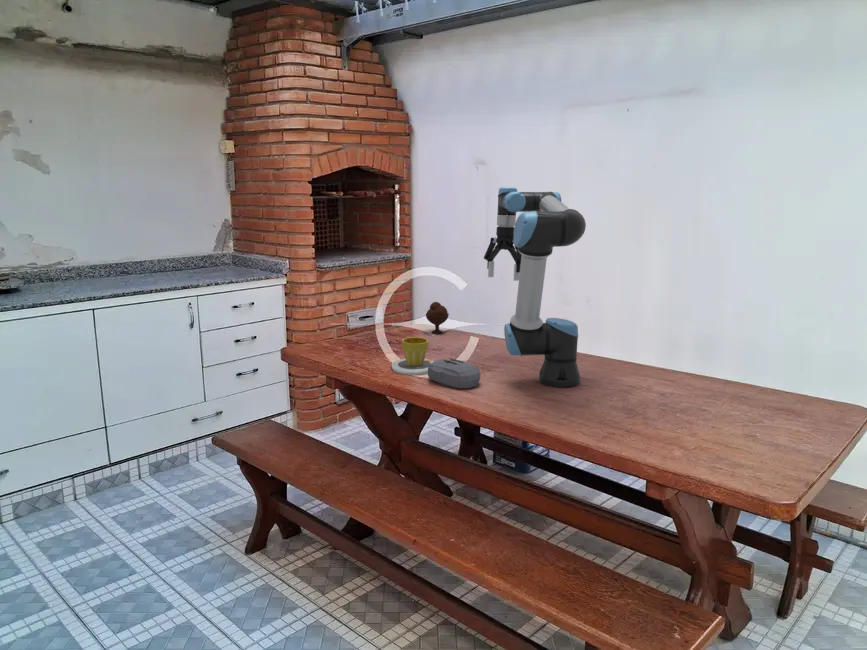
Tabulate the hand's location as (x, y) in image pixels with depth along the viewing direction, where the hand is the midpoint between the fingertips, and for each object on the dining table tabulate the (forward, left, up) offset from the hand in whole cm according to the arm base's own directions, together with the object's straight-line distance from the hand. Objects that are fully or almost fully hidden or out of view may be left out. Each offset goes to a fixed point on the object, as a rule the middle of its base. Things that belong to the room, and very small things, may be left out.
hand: (503, 278), depth 267 cm
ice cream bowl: (+48, -7, -33) cm, 59 cm away
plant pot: (+11, +38, -31) cm, 51 cm away
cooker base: (+11, +38, -33) cm, 52 cm away
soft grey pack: (-12, +38, -33) cm, 52 cm away
